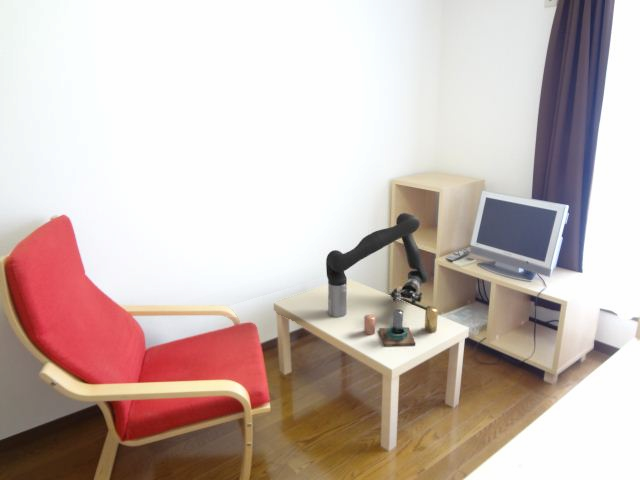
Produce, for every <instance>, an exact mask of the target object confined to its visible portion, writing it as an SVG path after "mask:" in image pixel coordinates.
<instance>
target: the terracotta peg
mask: <svg viewBox="0 0 640 480" xmlns="http://www.w3.org/2000/svg"><path fill="white" fill-rule="evenodd" d="M363 318H364V322H363V323H364V324H363V325H364V327H363V333H364V334H365V335H367V336H372V335H375V334H376V316H375V315H373V314H366V315H364V317H363Z"/></svg>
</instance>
